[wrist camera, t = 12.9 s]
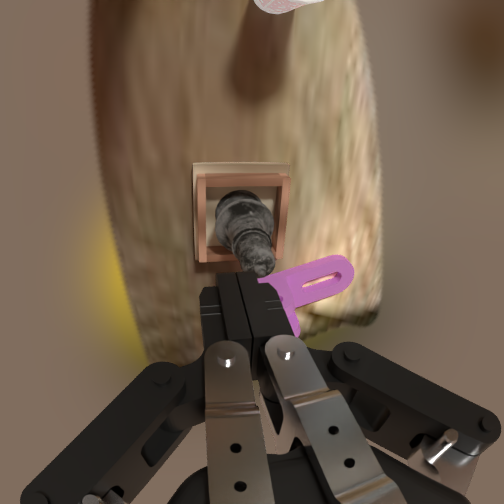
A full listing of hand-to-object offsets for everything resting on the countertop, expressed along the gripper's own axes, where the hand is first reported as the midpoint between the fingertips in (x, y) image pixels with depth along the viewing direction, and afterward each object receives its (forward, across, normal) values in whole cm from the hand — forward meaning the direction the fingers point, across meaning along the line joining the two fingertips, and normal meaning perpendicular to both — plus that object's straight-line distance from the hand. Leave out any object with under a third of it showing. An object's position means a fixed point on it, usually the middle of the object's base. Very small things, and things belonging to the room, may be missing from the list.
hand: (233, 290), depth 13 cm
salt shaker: (+22, -4, +7) cm, 23 cm away
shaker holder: (+22, -4, +7) cm, 24 cm away
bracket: (+22, -13, +17) cm, 31 cm away
